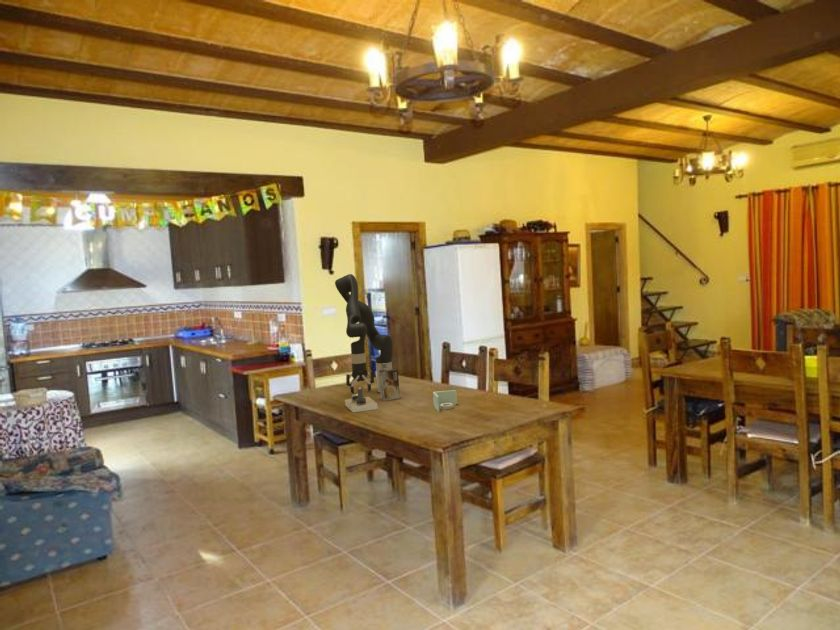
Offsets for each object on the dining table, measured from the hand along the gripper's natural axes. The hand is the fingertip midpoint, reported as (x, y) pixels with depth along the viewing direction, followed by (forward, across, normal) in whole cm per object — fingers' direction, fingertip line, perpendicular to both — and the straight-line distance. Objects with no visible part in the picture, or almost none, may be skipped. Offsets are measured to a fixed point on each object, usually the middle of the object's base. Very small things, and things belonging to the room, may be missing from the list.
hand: (360, 392), depth 312 cm
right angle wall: (+8, -38, +25) cm, 46 cm away
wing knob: (+5, 0, 0) cm, 5 cm away
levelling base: (+8, 0, -1) cm, 8 cm away
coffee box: (+8, -19, -11) cm, 23 cm away
